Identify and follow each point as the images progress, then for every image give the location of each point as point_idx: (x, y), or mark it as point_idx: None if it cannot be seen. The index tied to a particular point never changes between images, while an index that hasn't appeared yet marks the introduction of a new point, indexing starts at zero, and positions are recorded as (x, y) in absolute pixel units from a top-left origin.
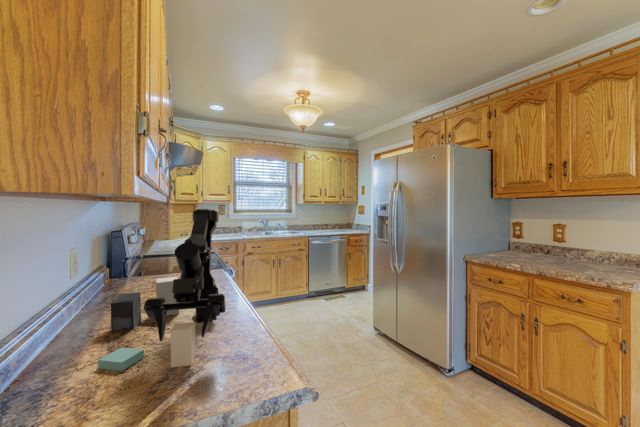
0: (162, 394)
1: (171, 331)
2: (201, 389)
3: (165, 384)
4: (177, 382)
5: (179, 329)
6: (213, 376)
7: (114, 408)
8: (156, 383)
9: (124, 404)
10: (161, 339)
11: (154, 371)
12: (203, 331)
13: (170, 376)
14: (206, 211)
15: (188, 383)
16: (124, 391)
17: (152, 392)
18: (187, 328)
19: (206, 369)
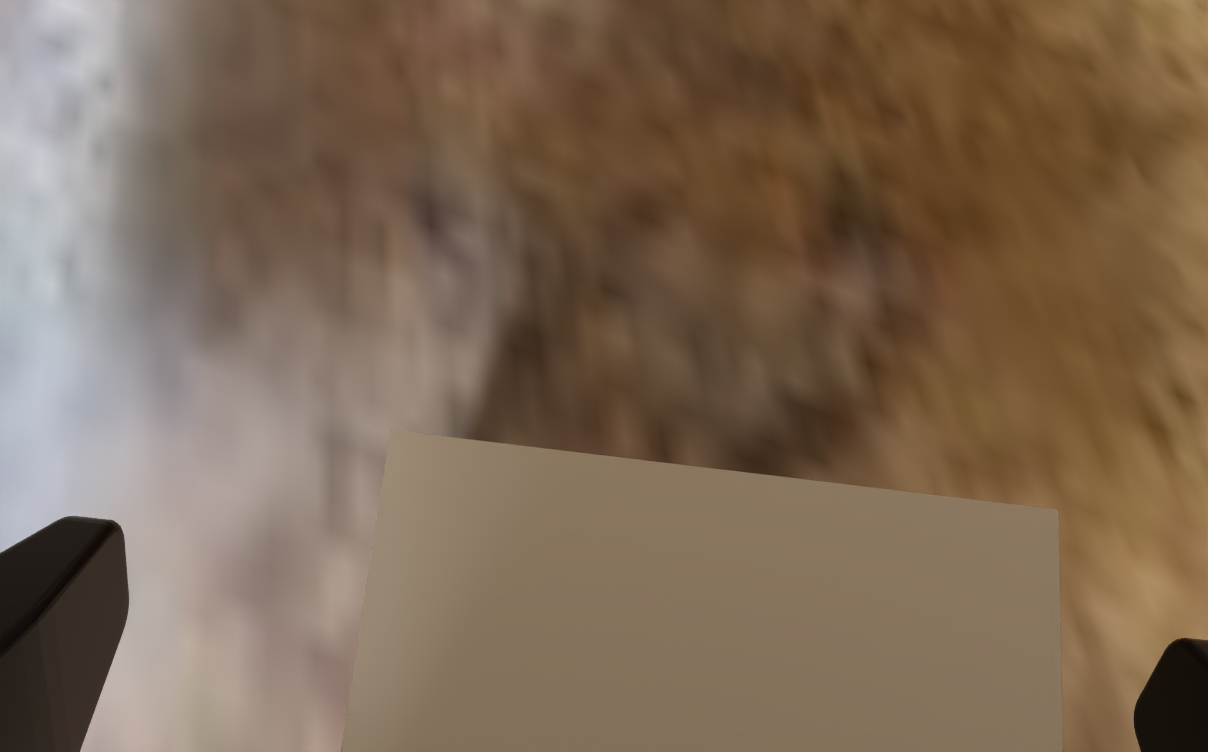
0: (732, 129)
1: (1024, 511)
2: (297, 62)
3: (741, 330)
4: (600, 323)
5: (796, 547)
6: (125, 301)
7: (1140, 66)
8: (857, 394)
9: (1072, 96)
10: (1172, 643)
11: None
12: (10, 572)
13: None
14: None
15: (459, 249)
16: (1172, 347)
17: (853, 210)
18: (528, 552)
19: (213, 539)
